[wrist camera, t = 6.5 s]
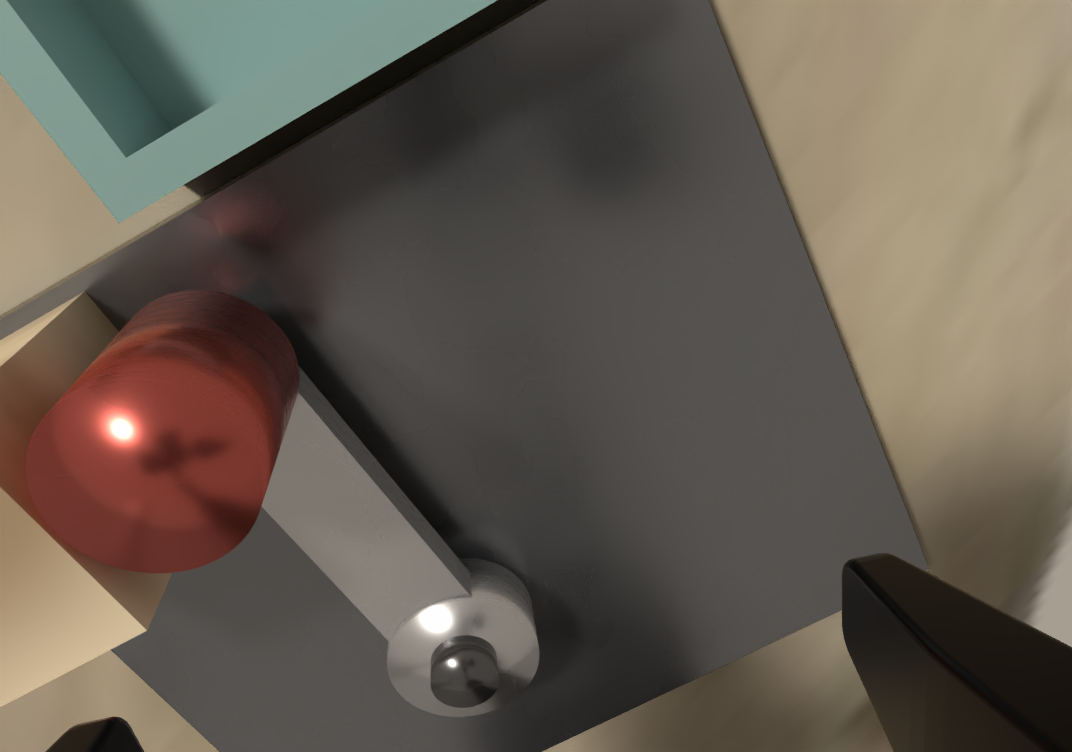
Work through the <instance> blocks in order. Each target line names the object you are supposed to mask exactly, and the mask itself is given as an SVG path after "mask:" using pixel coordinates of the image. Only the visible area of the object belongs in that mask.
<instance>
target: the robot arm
mask: <svg viewBox="0 0 1072 752" xmlns="http://www.w3.org/2000/svg"><path fill="white" fill-rule="evenodd" d="M842 628H843V635H844V639H845V643H846V646H847V649H848V652H849V654H850V656H851V659H852V661H853V663H854V665H855V667H856V670H857V672H858V674H859V676H860V678H861V681H862V683H863V685H864V687H865V689H866V692H867V694H868V696H869V698H870V700H871V702H872V705H873V707H874V709H875V711H876V713H877V716H878V718H879V720H880V722H881V724H882V727H883V729H884V731H885V733H886V735H887V738H888V740H889V742H890V744H891V746H892V749H893V751H894V752H1072V647H1070V646H1068V645H1066V644H1064V643H1062V642H1061V641H1059V640H1057V639H1055V638H1053V637H1051V636H1049V635H1047V634H1045V633H1043V632H1041V631H1039V630H1037V629H1036V628H1034V627H1032V626H1030V625H1028V624H1026V623H1024V622H1022V621H1020V620H1018V619H1016V618H1015V617H1013V616H1011V615H1009V614H1007V613H1005V612H1003V611H1001V610H999V609H997V608H995V607H993V606H992V605H990V604H988V603H986V602H984V601H982V600H980V599H978V598H976V597H974V596H972V595H970V594H969V593H967V592H965V591H963V590H961V589H959V588H957V587H955V586H953V585H951V584H949V583H947V582H946V581H944V580H942V579H940V578H938V577H936V576H934V575H932V574H930V573H928V572H926V571H924V570H923V569H921V568H919V567H917V566H915V565H913V564H911V563H909V562H907V561H905V560H903V559H901V558H900V557H898V556H895V555H893V554H890V553H878V554H873V555H868V556H863V557H859V558H854V559H850V560H849V561H847V562H846V563H845V564H844V566H843V570H842ZM46 752H144V750H143V749H142V747H141V745H140V743H139V741H138V739H137V738H136V736H135V734H134V732H133V730H132V728H131V727H130V725H129V724H128V722H127V721H125V720H124V719H122V718H120V717H109V718H104V719H99V720H95V721H90V722H85V723H81V724H78V725H76V726H73V727H72V728H70V729H69V730H68V731H67V732H65V733H64V734H63V735H62V736H61V737H60V738H59V739H58V740H57V741H56V742H55V743H54V744H53V745H52V746H51V747H50V748H49V749H48V750H47V751H46Z"/></svg>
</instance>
